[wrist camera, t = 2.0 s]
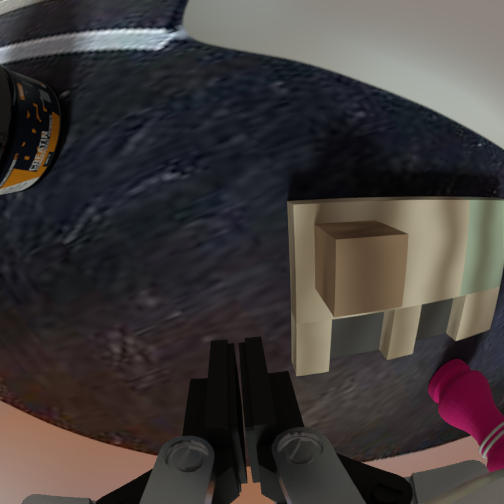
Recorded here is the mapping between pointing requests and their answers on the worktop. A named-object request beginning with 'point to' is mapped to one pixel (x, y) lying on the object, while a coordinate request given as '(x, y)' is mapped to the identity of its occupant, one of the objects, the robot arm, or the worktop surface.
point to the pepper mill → (470, 408)
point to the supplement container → (28, 130)
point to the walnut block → (360, 266)
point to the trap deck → (416, 280)
